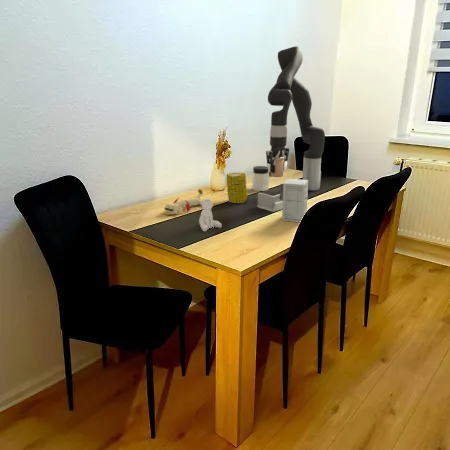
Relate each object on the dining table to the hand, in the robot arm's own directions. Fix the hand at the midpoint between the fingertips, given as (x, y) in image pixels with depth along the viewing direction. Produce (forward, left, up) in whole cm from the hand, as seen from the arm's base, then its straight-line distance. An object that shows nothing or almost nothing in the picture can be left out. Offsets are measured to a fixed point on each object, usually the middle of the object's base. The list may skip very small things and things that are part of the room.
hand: (277, 171), depth 211 cm
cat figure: (+35, -25, -17) cm, 47 cm away
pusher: (-7, 0, -16) cm, 17 cm away
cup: (-56, -47, -17) cm, 75 cm away
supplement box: (+8, +18, -17) cm, 26 cm away
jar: (-19, -27, -17) cm, 37 cm away
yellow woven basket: (+7, -19, -17) cm, 27 cm away
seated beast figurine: (+43, 0, -17) cm, 47 cm away
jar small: (0, 0, -2) cm, 2 cm away
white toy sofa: (-1, 0, -17) cm, 17 cm away
